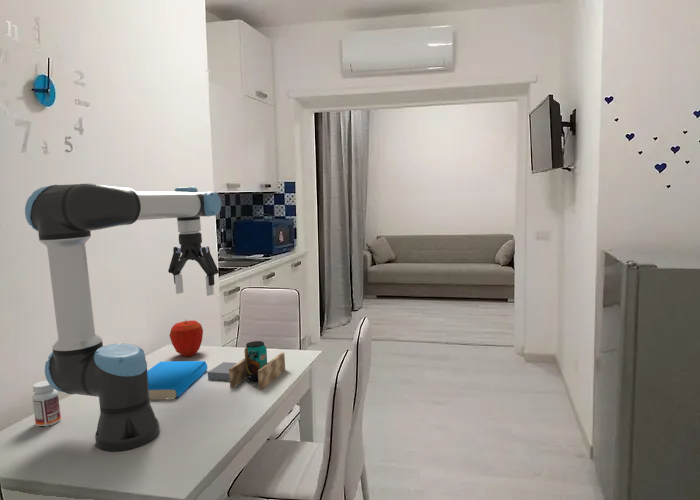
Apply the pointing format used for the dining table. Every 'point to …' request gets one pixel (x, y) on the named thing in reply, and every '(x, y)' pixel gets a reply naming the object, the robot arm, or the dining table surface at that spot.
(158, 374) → the book
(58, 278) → the robot arm
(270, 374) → the slot rack
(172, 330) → the apple
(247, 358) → the beverage can
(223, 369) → the stand
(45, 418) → the pill bottle
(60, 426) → the dining table surface
